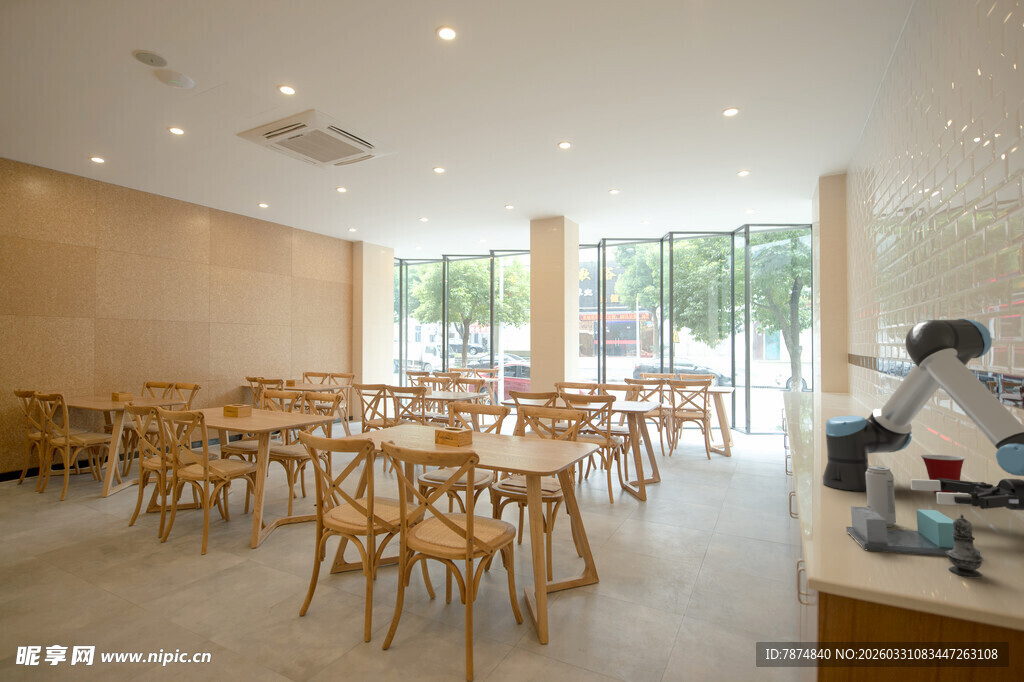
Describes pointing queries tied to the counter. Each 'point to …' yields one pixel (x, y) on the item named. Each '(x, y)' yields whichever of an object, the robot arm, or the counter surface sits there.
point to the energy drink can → (881, 492)
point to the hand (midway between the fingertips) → (923, 491)
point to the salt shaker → (964, 551)
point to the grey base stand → (889, 535)
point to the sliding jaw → (936, 527)
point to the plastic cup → (943, 467)
